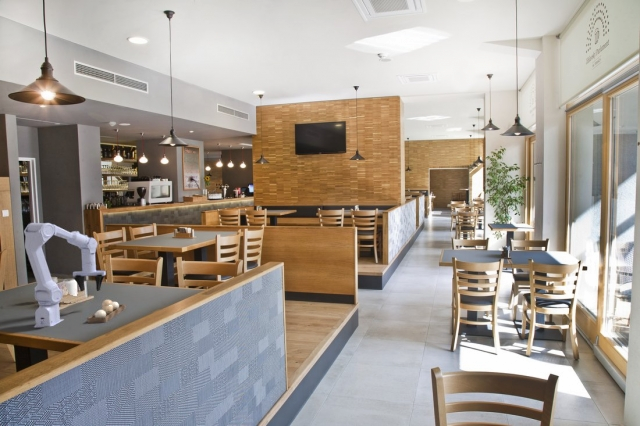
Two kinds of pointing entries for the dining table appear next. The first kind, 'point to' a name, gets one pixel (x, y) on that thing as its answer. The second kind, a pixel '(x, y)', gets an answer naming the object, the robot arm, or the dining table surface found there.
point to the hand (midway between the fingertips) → (90, 290)
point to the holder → (108, 315)
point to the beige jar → (107, 306)
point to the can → (71, 286)
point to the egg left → (100, 313)
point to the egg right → (115, 305)
